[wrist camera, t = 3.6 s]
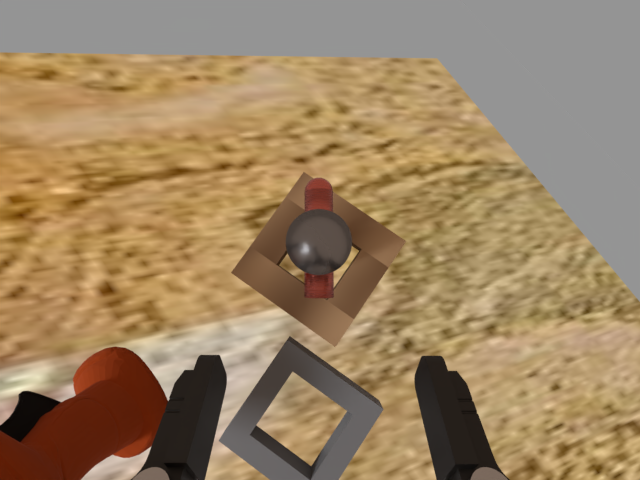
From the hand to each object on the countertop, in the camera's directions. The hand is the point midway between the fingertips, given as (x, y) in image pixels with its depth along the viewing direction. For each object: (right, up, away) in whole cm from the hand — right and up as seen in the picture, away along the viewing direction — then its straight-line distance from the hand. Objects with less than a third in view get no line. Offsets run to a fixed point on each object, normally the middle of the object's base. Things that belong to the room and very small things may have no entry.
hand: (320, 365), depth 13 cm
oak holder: (0, +4, +12) cm, 12 cm away
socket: (-1, -8, +10) cm, 13 cm away
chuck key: (0, +4, +12) cm, 12 cm away
